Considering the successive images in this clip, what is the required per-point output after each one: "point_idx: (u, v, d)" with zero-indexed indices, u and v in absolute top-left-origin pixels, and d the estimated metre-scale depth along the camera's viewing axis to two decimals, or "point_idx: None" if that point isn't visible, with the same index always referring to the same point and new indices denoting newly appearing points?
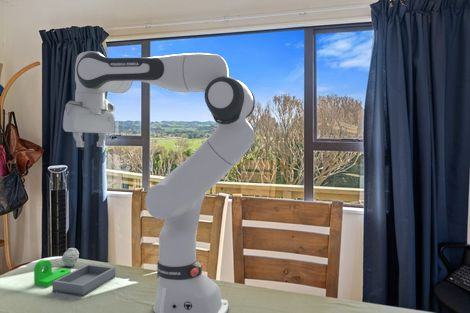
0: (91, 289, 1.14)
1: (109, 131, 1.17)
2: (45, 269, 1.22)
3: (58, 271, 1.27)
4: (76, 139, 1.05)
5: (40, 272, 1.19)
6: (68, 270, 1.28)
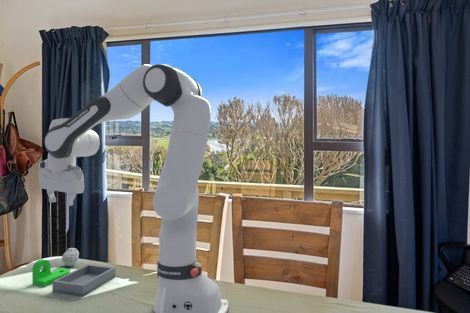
0: (91, 289, 1.14)
1: None
2: (44, 269, 1.23)
3: (57, 271, 1.27)
4: (71, 199, 1.18)
5: (38, 272, 1.19)
6: (67, 270, 1.28)
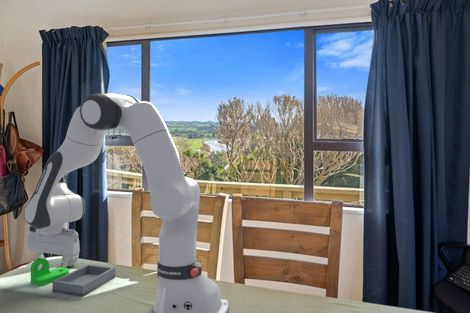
0: (91, 289, 1.14)
1: None
2: (43, 267, 1.23)
3: (57, 270, 1.27)
4: (66, 261, 1.21)
5: (36, 270, 1.20)
6: (66, 269, 1.28)
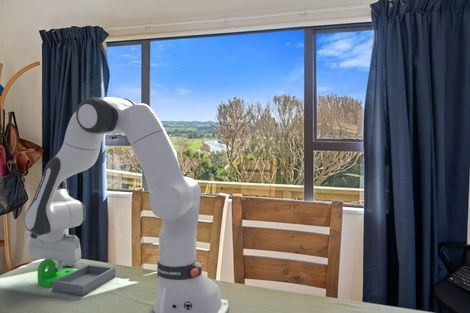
0: (91, 289, 1.14)
1: None
2: (49, 269, 1.22)
3: (63, 271, 1.26)
4: (60, 266, 1.22)
5: (43, 272, 1.18)
6: None
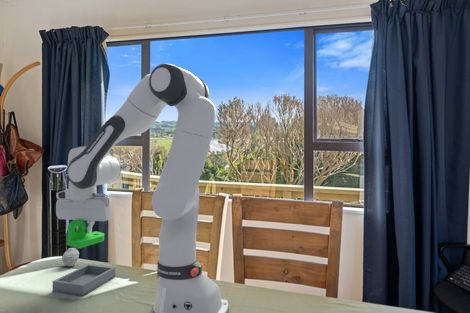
0: (91, 289, 1.14)
1: None
2: (79, 229, 1.17)
3: (92, 233, 1.22)
4: (90, 226, 1.18)
5: (73, 232, 1.14)
6: (102, 234, 1.22)
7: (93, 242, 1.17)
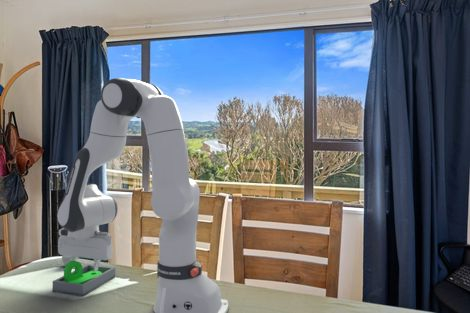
0: (91, 289, 1.14)
1: None
2: (75, 270, 1.18)
3: (89, 273, 1.22)
4: (96, 264, 1.18)
5: (69, 273, 1.15)
6: (99, 273, 1.23)
7: None
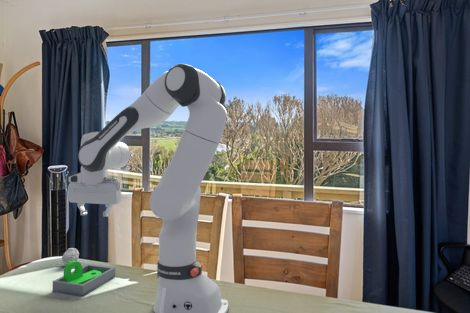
0: (91, 289, 1.14)
1: None
2: (75, 270, 1.19)
3: (89, 273, 1.22)
4: (108, 210, 1.21)
5: (69, 273, 1.15)
6: (99, 273, 1.23)
7: None
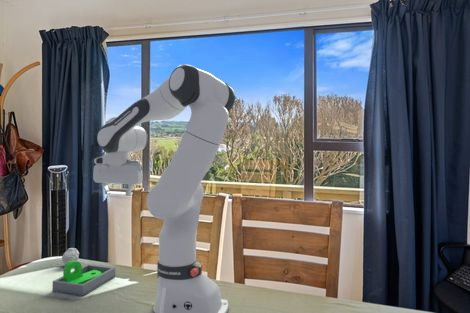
0: (91, 289, 1.14)
1: None
2: (75, 270, 1.19)
3: (89, 273, 1.22)
4: (130, 189, 1.32)
5: (69, 273, 1.15)
6: (99, 273, 1.23)
7: None
